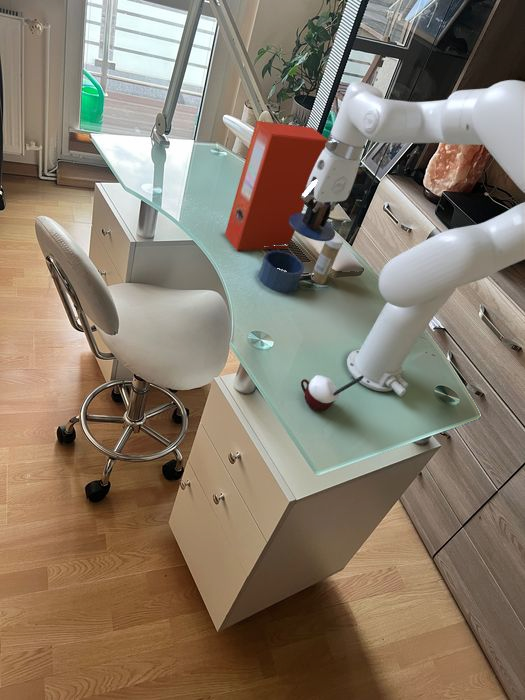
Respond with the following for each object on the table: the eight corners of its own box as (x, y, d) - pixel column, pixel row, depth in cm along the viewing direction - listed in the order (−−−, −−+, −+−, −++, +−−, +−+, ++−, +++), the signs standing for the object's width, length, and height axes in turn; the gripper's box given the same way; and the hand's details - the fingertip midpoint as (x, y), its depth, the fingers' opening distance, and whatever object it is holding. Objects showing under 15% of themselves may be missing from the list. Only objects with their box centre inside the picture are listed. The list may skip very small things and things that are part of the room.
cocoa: (292, 391, 101) (312, 349, 94) (315, 385, 105) (336, 343, 97) (319, 427, 96) (343, 384, 89) (342, 418, 100) (367, 377, 92)
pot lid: (342, 241, 119) (354, 216, 114) (307, 245, 112) (318, 219, 108) (313, 215, 124) (323, 191, 120) (278, 218, 118) (287, 192, 113)
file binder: (288, 249, 145) (328, 140, 125) (237, 251, 136) (272, 134, 116) (274, 234, 150) (311, 126, 130) (224, 235, 141) (255, 119, 121)
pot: (303, 291, 131) (312, 271, 127) (273, 297, 125) (280, 276, 121) (280, 268, 136) (288, 248, 132) (250, 273, 130) (257, 252, 126)
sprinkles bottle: (328, 284, 137) (347, 242, 129) (315, 286, 135) (334, 243, 126) (318, 274, 140) (336, 232, 131) (306, 276, 137) (324, 233, 129)
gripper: (327, 155, 99) (296, 235, 110) (380, 157, 108) (347, 230, 120) (304, 138, 102) (277, 217, 114) (358, 141, 112) (328, 214, 124)
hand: (313, 223), depth 117 cm, fingers closed on pot lid, 3 cm apart
